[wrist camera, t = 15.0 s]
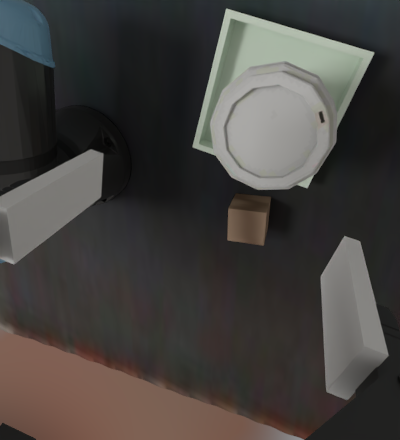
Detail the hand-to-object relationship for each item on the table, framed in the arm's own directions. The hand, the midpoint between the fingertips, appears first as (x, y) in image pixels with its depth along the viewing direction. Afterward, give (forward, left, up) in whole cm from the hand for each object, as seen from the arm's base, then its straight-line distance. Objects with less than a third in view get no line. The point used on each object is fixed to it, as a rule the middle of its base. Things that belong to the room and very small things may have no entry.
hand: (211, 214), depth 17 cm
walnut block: (+3, -14, -27) cm, 31 cm away
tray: (0, +1, -27) cm, 27 cm away
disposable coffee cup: (+1, +1, -27) cm, 27 cm away
